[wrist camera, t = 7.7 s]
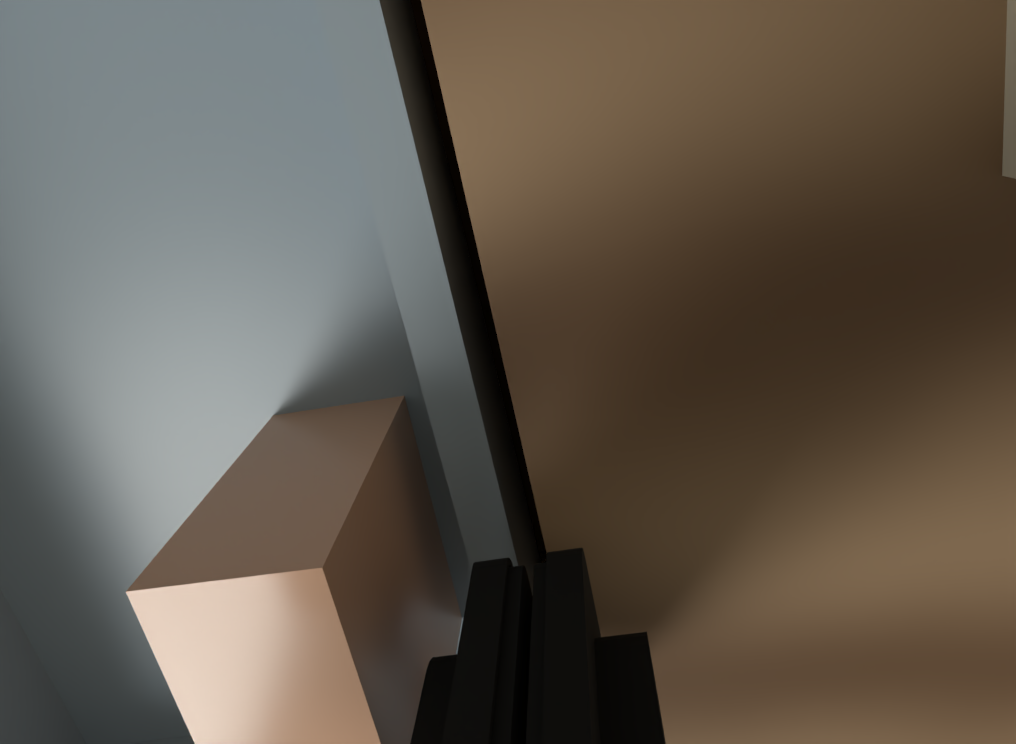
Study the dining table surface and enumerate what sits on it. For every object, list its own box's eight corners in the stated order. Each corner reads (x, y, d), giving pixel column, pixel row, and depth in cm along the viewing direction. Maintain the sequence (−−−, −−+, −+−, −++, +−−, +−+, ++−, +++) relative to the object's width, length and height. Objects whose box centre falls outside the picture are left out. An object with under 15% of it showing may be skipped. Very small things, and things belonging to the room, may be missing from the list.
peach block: (419, 860, 10) (252, 871, 11) (461, 617, 15) (345, 631, 15) (322, 567, 9) (125, 592, 9) (404, 395, 13) (273, 415, 14)
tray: (572, 699, 16) (578, 944, 12) (86, 754, 18) (-77, 988, 13) (340, -299, 10) (157, -618, 5) (-379, -79, 12) (-993, -180, 7)
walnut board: (1317, 575, 14) (1504, 698, 11) (592, 661, 16) (599, 785, 13) (1568, -560, 8) (2060, -869, 6) (401, -223, 10) (345, -333, 8)
